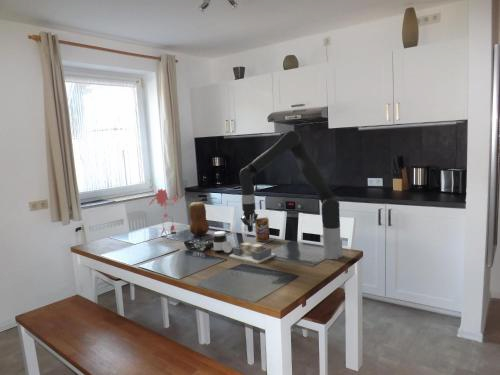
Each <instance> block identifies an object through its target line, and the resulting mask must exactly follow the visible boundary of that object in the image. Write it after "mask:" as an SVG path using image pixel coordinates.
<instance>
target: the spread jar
mask: <svg viewBox="0 0 500 375" xmlns="http://www.w3.org/2000/svg"><path fill="white" fill-rule="evenodd" d="M213 234H214V235H213V242H212V244H213V249H214V250H213V251H214V252H215V253H226V254H229V253H231V252H232V251H233V248H232V247H233V246H232V244H231V242H229V241H228V237H227V235H226V231H224V230H222V231H220V230H219V231H215V232H214V233H213Z"/></svg>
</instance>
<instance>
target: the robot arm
mask: <svg viewBox="0 0 500 375" xmlns="http://www.w3.org/2000/svg"><path fill="white" fill-rule="evenodd" d="M288 150H289V151H290V152H291V154H292V155H293V157H294V158H295V161H296V163H297V166H298V168H299V171H300V173H301V174H302V176H303V178H304V180H305V181H306V182H307V184H308V185H309V186H310V188H311V189H312V190H314V192H315V193H316V195H317V196H318V198H319V200H320V202H321V220H322V238H323V240H322V241H323V258H325V259H327V260H339V259H341V258H342V257H343V239H341V220H340V219H341V218H340V202H339V200H338V198H337V197H336V196H335V195H334V194H333V192H332V191H331V189H330V188H329V185H328V183H327V181H326V179H325V178H324V177H325V176H324V175H323V174H322V171H321V170H320V168H319V166H318V165H317V163H316V162H315V161H314V159H313V158H312V156H311V155H310V154H309V152H308V151H307V149H306V146H304V143H303V141H302V138H301V136H300V134H299V133H298V132H297V131H295V130H288V131H287V132H285V133H284V134H283V136H282V137H281V138H279V140H277V142H276V143H274V144H273V145H272V146H271V147H270V148H268V149H267V150H265V151H264V152H263V153H261V154H260V155H259V156H257V157H256V158H255V159H253V161H252V162H250V163H249V164H248V165H246V166H245V167H243V168H241V169H240V171H239V182H240V186H241V207H242V208H241V209H242V211H243V214H242V215H243V216H242V217H241V218H240V220H241V222H242V223H243V225H245V226H247V232H248V233H252V232H253V231H254V228H253V227H254V225H255V222H256V219H257V218H258V216H259V214H258V213H256V209H257V208H256V197H255V188H254V185H253V181H252V180H253V179H252V178H253V177H254V176H255V175H257V174H258V173H259V172H260V171H262V170H263V169H265V168H267V167H268V166H269V165H270V164H271V163H272V162H274V161H275V160H276V159H277V158H278V157H279V156H280V155H282V154H284V153H285V152H287V151H288Z"/></svg>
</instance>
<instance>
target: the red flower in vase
mask: <svg viewBox="0 0 500 375" xmlns="http://www.w3.org/2000/svg"><path fill="white" fill-rule="evenodd" d="M178 199H179V196H178V195H177V194H176V195H175V196H173V202H172V203H167V201H169V198H168V193H167V189H163V188H160V189H158V190H157V192H156V193H155V197H153V199H152V200H151V201H150V202H149V204H148V205H149V206H150V205H151V204H153V202H155V200H156V201H157V204H159V206H160V207H163V206H164V208H166V207H167V205H170V206H174V203H175V202H177V201H178ZM167 217H169V218H171V223H172V224H171V226H170V228H169V229H170V232H173V231H174V233H175V232H176V229H175V225H174V223H173V222H174V221H173V219H174V218H173V216H170V215H168V214H167V213H164V214H163V217H162V221H164V219H165V218H167ZM181 231H182V230H180V232H181ZM163 233H165V236H168V234H167V232H166V229H165V226H164V223H162V230H161V232H160V236H162V235H163ZM176 233H177V232H176Z"/></svg>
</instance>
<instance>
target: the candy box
mask: <svg viewBox="0 0 500 375" xmlns="http://www.w3.org/2000/svg"><path fill="white" fill-rule="evenodd" d="M254 228H255V230H254V231H255V242H264V241H266V242H267V241H270V222H269V217H268V216H265V217H257V219H256V222H255V223H254Z"/></svg>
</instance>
